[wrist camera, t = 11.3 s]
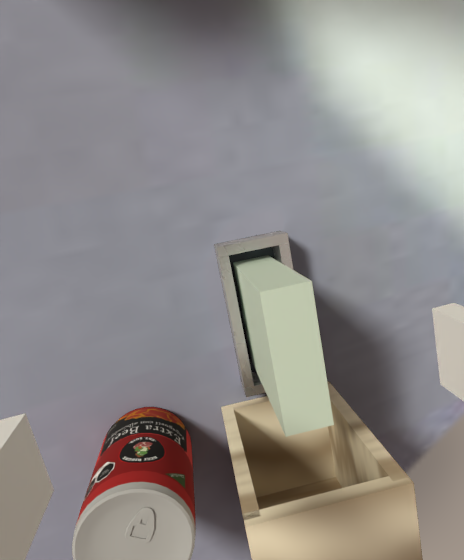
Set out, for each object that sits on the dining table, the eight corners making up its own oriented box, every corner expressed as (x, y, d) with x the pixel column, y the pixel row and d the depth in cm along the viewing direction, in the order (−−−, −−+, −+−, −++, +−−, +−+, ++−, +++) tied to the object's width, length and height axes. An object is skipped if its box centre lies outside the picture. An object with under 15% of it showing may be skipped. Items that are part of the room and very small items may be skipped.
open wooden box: (221, 406, 37) (245, 527, 23) (328, 381, 38) (413, 482, 24) (241, 503, 39) (274, 666, 25) (343, 476, 40) (429, 620, 26)
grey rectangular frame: (213, 244, 34) (216, 247, 31) (279, 230, 34) (287, 232, 32) (241, 383, 37) (246, 397, 34) (302, 369, 37) (311, 381, 34)
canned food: (194, 403, 36) (199, 487, 26) (189, 485, 38) (192, 597, 27) (104, 402, 35) (70, 489, 25) (102, 486, 37) (70, 603, 26)
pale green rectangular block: (232, 262, 35) (259, 292, 23) (276, 253, 35) (325, 278, 23) (252, 361, 36) (285, 436, 25) (293, 352, 37) (346, 421, 25)
